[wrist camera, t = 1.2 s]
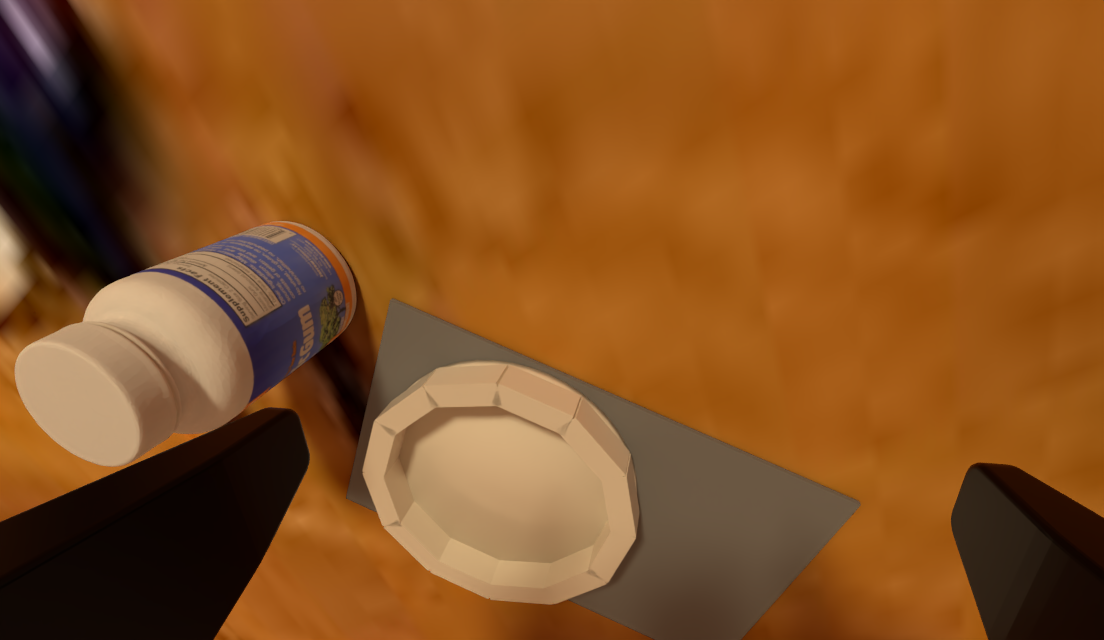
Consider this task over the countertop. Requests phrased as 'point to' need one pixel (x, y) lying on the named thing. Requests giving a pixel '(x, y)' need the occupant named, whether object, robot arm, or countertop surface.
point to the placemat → (653, 500)
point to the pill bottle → (187, 342)
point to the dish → (504, 482)
